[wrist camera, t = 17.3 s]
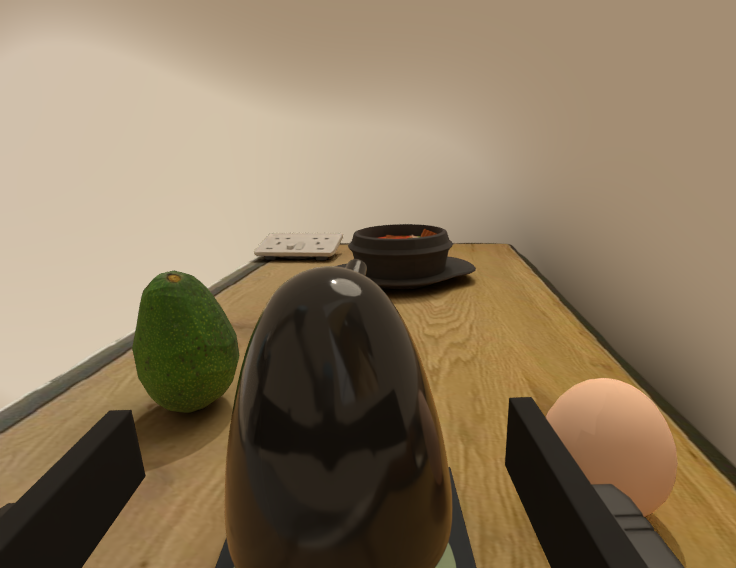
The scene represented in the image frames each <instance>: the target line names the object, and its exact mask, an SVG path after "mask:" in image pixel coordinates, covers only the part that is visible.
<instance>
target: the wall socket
mask: <svg viewBox="0 0 736 568" xmlns="http://www.w3.org/2000/svg"><path fill="white" fill-rule="evenodd" d="M342 238H343V234H341V233H272V234H269V235H268V236H267V237H266V238H265V239H264V240H263V241H262V242H261V243H260V245H259V246H258V247H257V248H256V249H255V250H254V254H255V255H256V256H265V259H266V260H275V259H276V258H277V257H280V258H287V259H307V258H314V257H315V258H316V260H326V259H327V257H328V256H332V255H334V254H335V252H336V250H337V248H338V246H339V244H340V242H341V240H342ZM278 261H279V260H278Z"/></svg>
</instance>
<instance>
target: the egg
mask: <svg viewBox="0 0 736 568" xmlns="http://www.w3.org/2000/svg"><path fill="white" fill-rule="evenodd" d="M546 419H547V420H548V422H549V423H550V425H551V426H552V428H553V429H554V431H555V432H556V434H557V435H558V436H559V438H560V439H561V441H562V442H563V444H564V445H565V447H566V448H567V450H568V451H569V452H570V454H571V455H572V457H573V458H574V460H575V461H576V463H577V464H578V466H579V467H580V468H581V470H582V471H583V473H584V474H585V476H586V477H587V479H588V480H589V482H590V483H591V484H613V485H614V486H615V487H617V488H618V489H619V490H621V491H622V492H623V493H625V494H626V495H627V496H629V497H630V498H631V499H632V501H633V502H634V503H635V505H636V506H637V507H638V508H639V510H640V511H641V512H642V514H643V517H645V516H647V515H649V514H651V513H653V512H654V511H655V510H656V509H657V508H658V507H660V506H661V505H662V504H663V503H664V502H665V501H666V499H667V498H668V496H669V494H670V493H671V491H672V488H673V486H674V483H675V478H676V471H677V454H676V446H675V443H674V440H673V437H672V434H671V432H670V429H669V427H668V425H667V423H666V420H665V419H664V417H663V416H662V414H661V413H660V411H659V410H658V408H657V407H656V405H655V404H654V403H653V402H652V401H651V400H650V399H649V398H648V397H647V396H646V395H644V394H643V393H642V392H641V391H639V390H638V389H636V388H635V387H633V386H631V385H629V384H627V383H624V382H622V381H619V380H614V379H608V378H599V379H590V380H586V381H584V382H581V383H578V384H576V385H574V386H573V387H571V388H570V389H569V390H568V391H566V392H565V393H564V394H563V395H561V396H560V397H559V399H558V400H557V401H556V402H555V404H554V405H553V406H552V408H551V409H550V410H549V412H548V413H547V416H546Z"/></svg>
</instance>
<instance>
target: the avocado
mask: <svg viewBox="0 0 736 568" xmlns="http://www.w3.org/2000/svg"><path fill="white" fill-rule="evenodd" d="M132 350H133V354H134V358H135V364H136V369H137V374H138V378H139V380H140V381H141V383H142V385H143V386H144V388H145V389H146V391H147V393H148V394H149V395H150V397H151V398H152V399H153V400H154V401H155V402H156V403H157V404H158V405H160V406H162V407H164V408H165V409H167V410H169V411H177V412H186V413H191V412H194V411H197V410H199V409H202V408H205V407H206V406H208V405H209V404H211V403H212V402H214V401H215V400H216V399H218V398H219V397H221V396H222V395H223V394H224V393H225V392H226V391H227V389H228V388H229V386H230V385H231V383H232V381H233V379H234V375H235V371H236V367H237V363H238V359H239V349H238V343H237V336H236V333H235V331H234V329H233V327H232V325H231V324H230V322H229V320H228V318H227V316H226V314H225V312H224V311H223V309H222V308H221V306H220V305H219V303H218V302H217V300H216V299H215V297H214V296H213V295H212V294H211V292H210V291H209V290H208V289H207V288H206V287H205V286H204V285H203V284H202V283H201V282H200V281H199V280H198V279H196V278H195V277H194V276H192V275H189V274H185V273H182V272H177V271H170V272H165V273H161V274H159V275H158V276H156V277H155V278H154V279H153V280H152V281H151V282H150V283H149V285H148V286H147V287H146V288H145V289H144V291H143V293H142V297H141V302H140V307H139V313H138V319H137V326H136V331H135V337H134V342H133V347H132Z"/></svg>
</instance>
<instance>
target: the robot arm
mask: <svg viewBox="0 0 736 568" xmlns="http://www.w3.org/2000/svg"><path fill="white" fill-rule="evenodd" d="M505 466H506V468H507V471H508V473H509V475H510V477H511V480H512V482H513V484H514V486H515V488H516V491H517V493H518V495H519V497H520V500H521V502H522V504H523V506H524V508H525V511H526V513H527V515H528V517H529V520H530V522H531V524H532V526H533V529H534V531H535V533H536V535H537V537H538V540H539V542H540V544H541V546H542V549H543V551H544V553H545V555H546V557H547V560H548V562H549V564H550V566H551V568H684V567H683V565H682V564H681V563H680V561H679V560H678V559H677V557H676V556H675V555H674V554H673V552H672V551H671V550H670V548H669V547H668V546H667V545H666V543H665V542H664V541H663V539H662V538H661V537H660V536H659V534H658V533H657V532H656V531H654V528H653V526H652V525H651V524H650V523H649V521H648V520H647V519H646V517H643V514H642V512H641V511H640V510H639V508H638V507H637V506H636V505H635V503H634V502H633V501H632V499H631V498H630V497H629V496H627V495H626V494H625V493H623V492H622V491H621V490H619V489H618V488H617V487H615V486H614V485H613V484H591V483H590V482H589V480H588V479H587V477H586V476H585V474H584V473H583V471H582V470H581V468H580V467H579V466H578V464H577V463H576V461H575V460H574V458H573V457H572V455H571V454H570V452H569V451H568V450H567V448H566V447H565V445H564V444H563V442H562V441H561V439H560V438H559V436H558V435H557V434H556V432H555V431H554V429H553V428H552V426H551V425H550V423H549V422H548V420H547V419H546V418H545V416H544V415H543V413H542V412H541V410H540V409H539V407H538V406H537V404H536V403H535V402H534V400H533V399H532V397H519V398H509V409H508V425H507V441H506V457H505ZM144 478H145V471H144V466H143V462H142V457H141V452H140V448H139V443H138V438H137V434H136V429H135V424H134V420H133V415H132V410H114V411H109V412H108V413H107V414H106V415H105V416H104V417H102V418H101V419H100V420H99V421H98V422H97V423H96V424H95V425H94V426H93V427H92V428H91V429H90V430H89V431H88V432H87V433H86V434H85V435H84V436H83V437H82V438H81V439H80V440H79V441H78V442H77V443H76V444H75V445H74V446H73V447H72V448H71V449H70V450H69V451H68V452H67V453H66V454H65V455H64V456H63V457H62V458H61V459H60V460H59V461H58V462H57V463H56V464H55V465H53V466H52V467H51V468H50V469H49V470H48V471H47V472H46V473H45V474H44V475H43V476H42V477H41V478H40V479H39V480H38V481H37V482H36V483H35V484H34V485H33V486H32V487H31V488H30V489H29V490H28V491H27V492H26V493H25V494H24V495H23V496H22V497H21V498H20V499H19V500H18V501H17V502H16V503H8V504H6V505H5V506H3V507H2V508H0V568H82V567H83V565H84V564H85V562H86V561H87V559H88V558H89V557H90V555H91V554H92V552H93V551H94V549H95V548H96V546H97V545H98V544H99V542H100V541H101V539H102V538H103V536H104V535H105V534H106V532H107V531H108V529H109V528H110V526H111V525H112V524H113V522H114V521H115V519H116V518H117V516H118V515H119V513H120V512H121V511H122V509H123V508H124V506H125V505H126V503H127V502H128V501H129V499H130V498H131V496H132V495H133V493H134V492H135V491H136V489H137V488H138V486H139V485H140V483H141V482H142V481H143V479H144Z"/></svg>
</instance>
